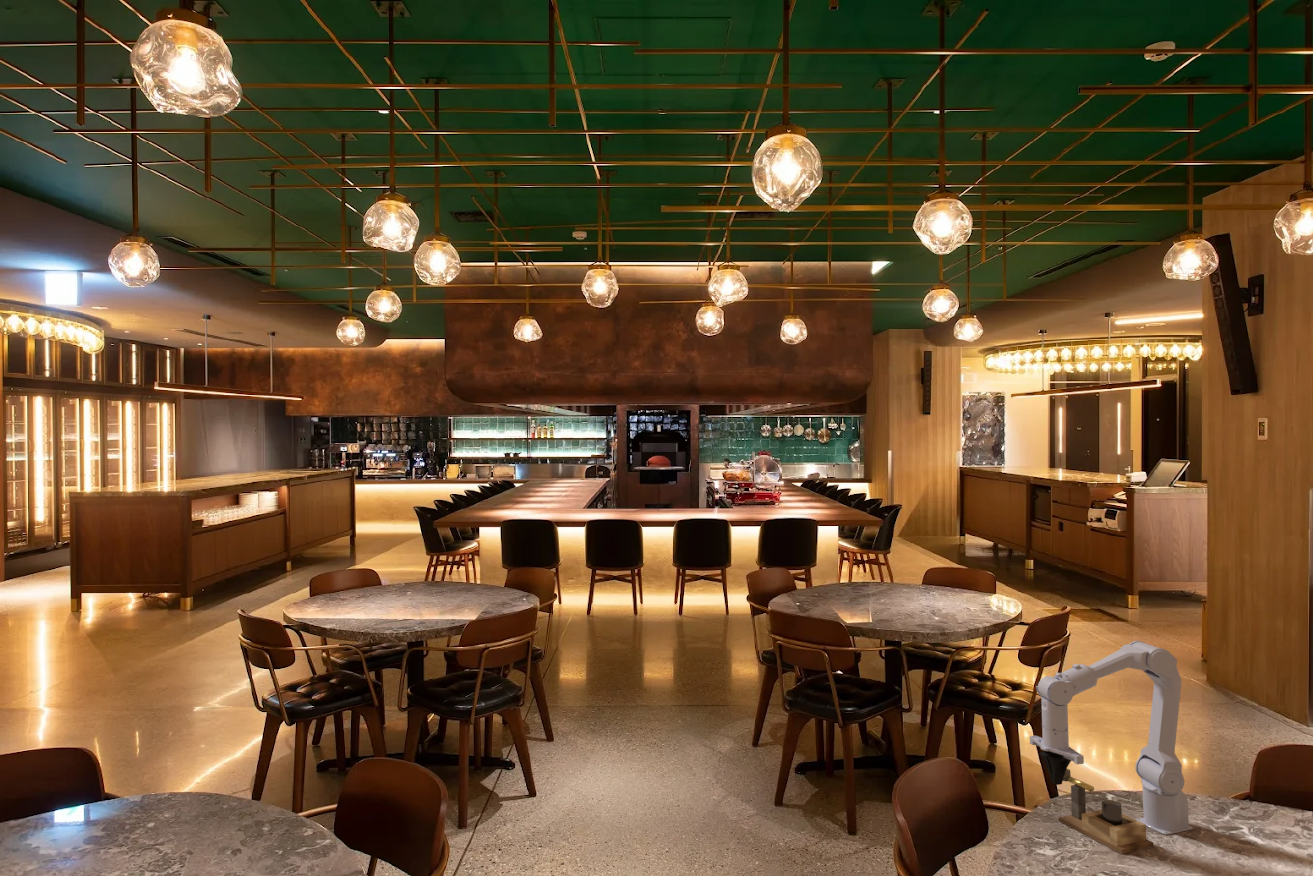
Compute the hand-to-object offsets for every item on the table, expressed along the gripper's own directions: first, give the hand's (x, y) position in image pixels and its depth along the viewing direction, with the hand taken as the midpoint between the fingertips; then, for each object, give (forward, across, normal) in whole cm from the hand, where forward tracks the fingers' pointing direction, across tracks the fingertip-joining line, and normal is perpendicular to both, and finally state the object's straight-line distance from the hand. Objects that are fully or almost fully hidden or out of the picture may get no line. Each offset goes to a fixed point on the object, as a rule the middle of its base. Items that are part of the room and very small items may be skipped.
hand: (1056, 783), depth 182 cm
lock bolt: (+1, -1, +7) cm, 7 cm away
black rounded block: (+9, +9, +7) cm, 15 cm away
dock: (+10, +7, +7) cm, 14 cm away
